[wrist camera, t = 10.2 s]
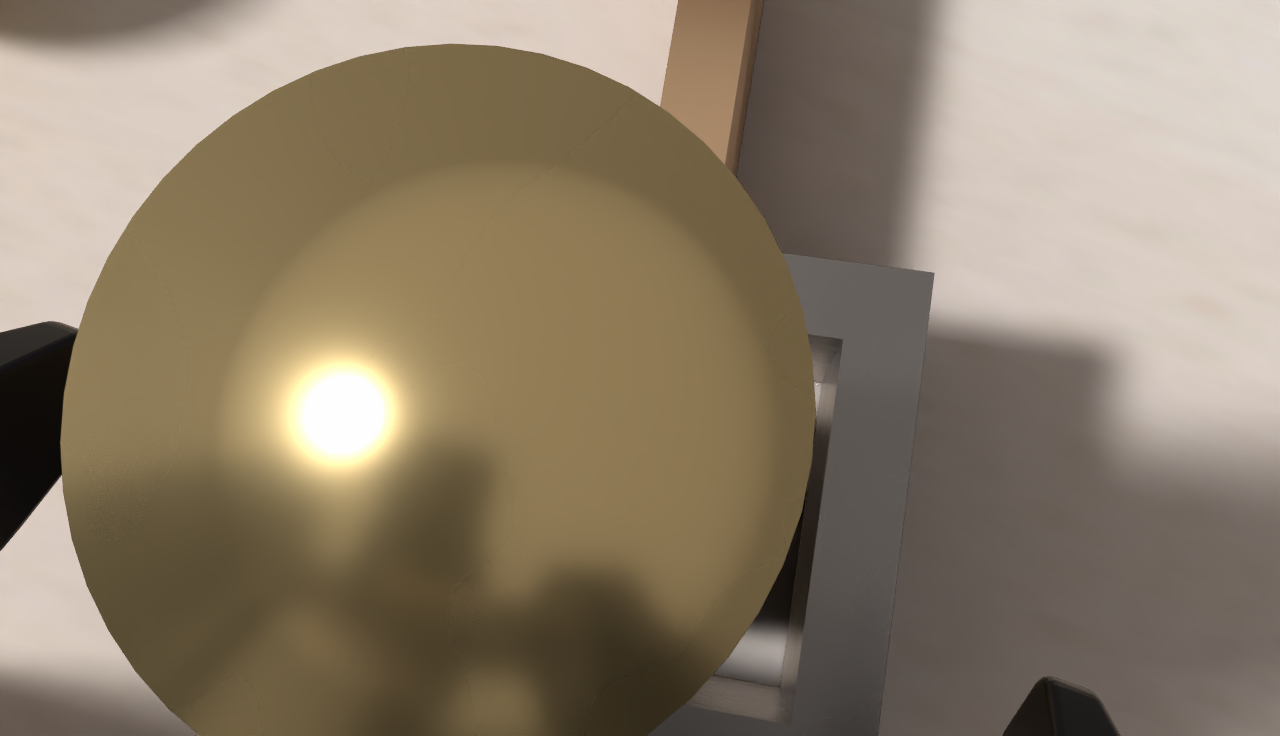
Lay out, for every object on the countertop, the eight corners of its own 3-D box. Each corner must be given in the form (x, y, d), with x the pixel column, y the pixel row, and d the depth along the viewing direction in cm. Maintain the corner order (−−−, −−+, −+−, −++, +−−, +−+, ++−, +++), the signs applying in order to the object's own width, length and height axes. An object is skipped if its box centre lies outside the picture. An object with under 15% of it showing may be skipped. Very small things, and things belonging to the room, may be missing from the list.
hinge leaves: (538, 1429, 17) (485, 1658, 13) (467, 1409, 17) (396, 1632, 13) (795, -200, 21) (806, -344, 18) (738, -204, 21) (738, -348, 18)
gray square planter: (838, 769, 18) (865, 831, 14) (404, 685, 19) (316, 721, 15) (894, 329, 19) (934, 272, 15) (485, 273, 20) (424, 206, 16)
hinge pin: (769, 607, 18) (868, 773, 5) (553, 628, 19) (57, 840, 5) (744, 391, 19) (763, -2, 5) (536, 414, 20) (63, 96, 6)
